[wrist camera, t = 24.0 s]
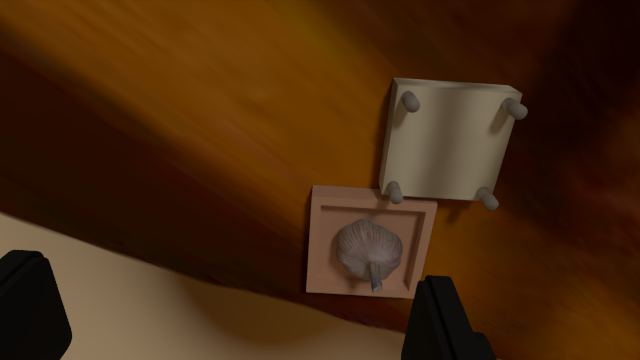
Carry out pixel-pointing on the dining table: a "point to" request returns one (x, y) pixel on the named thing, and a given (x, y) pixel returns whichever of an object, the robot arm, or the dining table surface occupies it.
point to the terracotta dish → (365, 203)
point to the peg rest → (447, 139)
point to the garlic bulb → (369, 251)
